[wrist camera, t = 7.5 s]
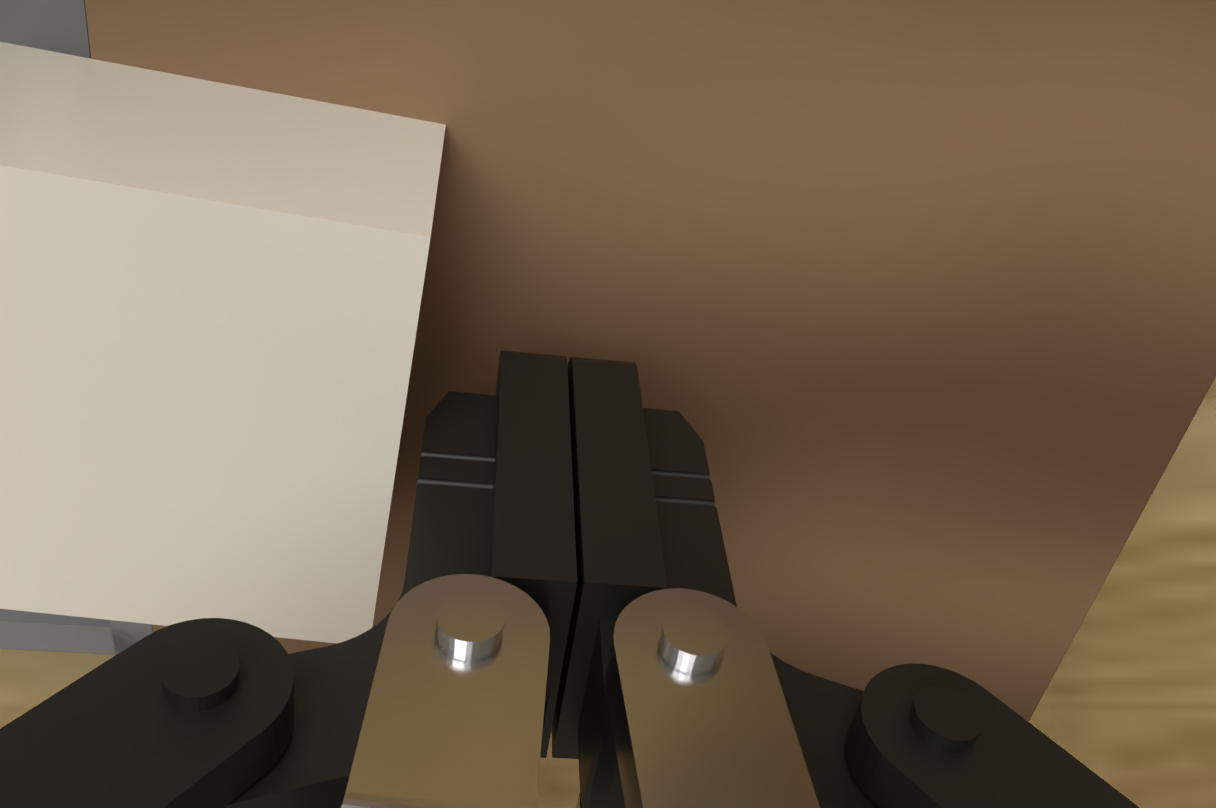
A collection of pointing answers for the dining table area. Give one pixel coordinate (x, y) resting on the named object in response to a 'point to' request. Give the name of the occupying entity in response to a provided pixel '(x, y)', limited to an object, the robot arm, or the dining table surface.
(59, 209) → the tile
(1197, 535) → the dining table surface
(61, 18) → the box
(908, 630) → the wooden grain block
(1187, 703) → the dining table surface
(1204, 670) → the dining table surface
